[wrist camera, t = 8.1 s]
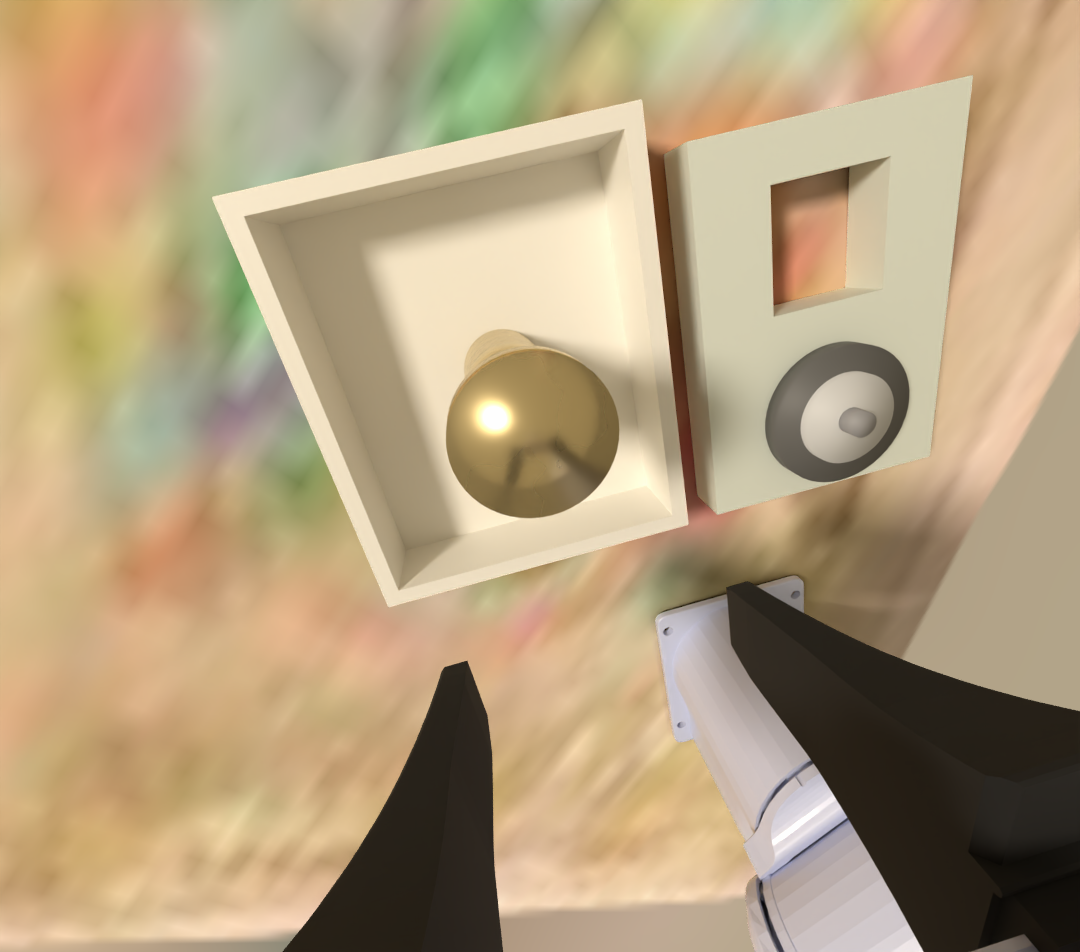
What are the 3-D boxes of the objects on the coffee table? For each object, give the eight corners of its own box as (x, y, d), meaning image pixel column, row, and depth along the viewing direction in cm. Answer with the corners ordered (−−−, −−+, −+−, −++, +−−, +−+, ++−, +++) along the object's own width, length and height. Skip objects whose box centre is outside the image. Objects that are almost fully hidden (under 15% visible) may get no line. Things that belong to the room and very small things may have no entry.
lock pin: (562, 405, 20) (630, 495, 12) (466, 429, 20) (472, 536, 12) (542, 304, 19) (605, 331, 11) (438, 329, 19) (422, 375, 10)
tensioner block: (893, 442, 24) (974, 474, 20) (697, 495, 24) (742, 538, 20) (921, 94, 18) (1040, 49, 15) (663, 154, 18) (718, 124, 14)
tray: (656, 489, 23) (688, 524, 20) (398, 559, 22) (388, 607, 19) (607, 130, 17) (641, 99, 14) (258, 210, 17) (211, 196, 14)
